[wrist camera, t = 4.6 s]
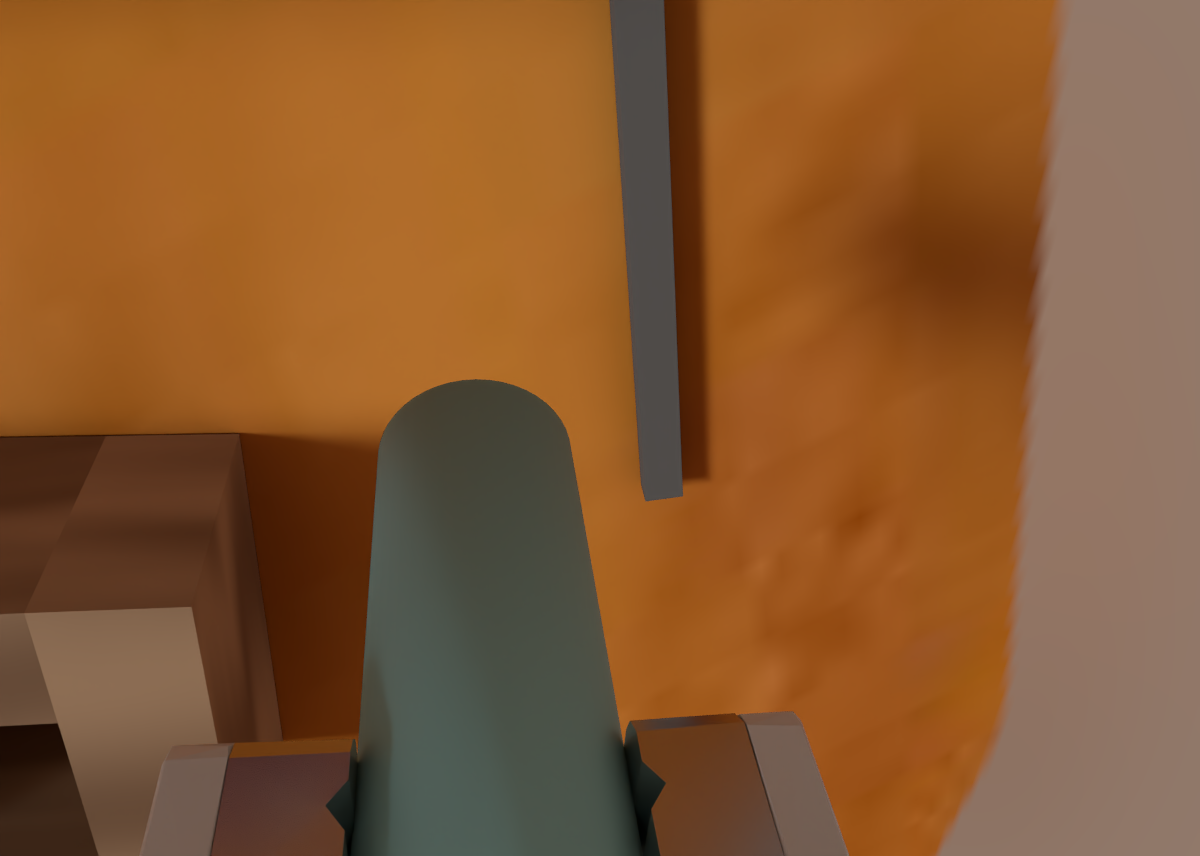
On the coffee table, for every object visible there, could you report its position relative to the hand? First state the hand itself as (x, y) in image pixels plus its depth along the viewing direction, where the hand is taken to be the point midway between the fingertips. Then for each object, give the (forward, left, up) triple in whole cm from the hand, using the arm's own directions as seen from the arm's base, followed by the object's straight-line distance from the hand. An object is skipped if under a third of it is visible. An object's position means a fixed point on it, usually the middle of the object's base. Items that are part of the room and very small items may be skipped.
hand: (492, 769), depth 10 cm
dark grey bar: (-2, +3, -12) cm, 13 cm away
